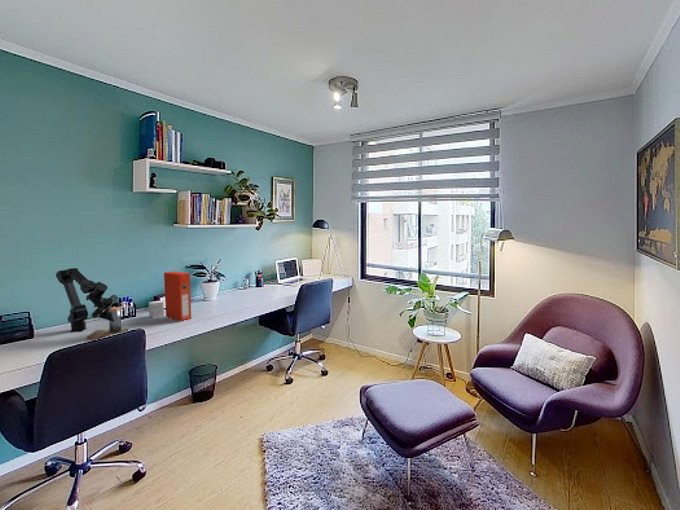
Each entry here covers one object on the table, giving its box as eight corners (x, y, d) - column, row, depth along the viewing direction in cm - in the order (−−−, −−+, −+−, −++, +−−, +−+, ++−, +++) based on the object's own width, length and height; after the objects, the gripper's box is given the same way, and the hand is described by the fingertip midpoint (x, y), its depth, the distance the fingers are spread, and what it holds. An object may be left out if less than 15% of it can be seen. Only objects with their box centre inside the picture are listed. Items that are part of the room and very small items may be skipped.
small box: (160, 314, 260) (160, 300, 259) (164, 316, 256) (163, 301, 255) (148, 317, 253) (148, 302, 252) (152, 318, 250) (151, 303, 249)
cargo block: (109, 311, 210) (109, 309, 210) (112, 309, 214) (112, 307, 214) (116, 311, 211) (116, 308, 210) (120, 309, 215) (119, 307, 214)
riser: (87, 339, 206) (86, 336, 205) (95, 333, 216) (95, 330, 216) (122, 337, 210) (121, 334, 209) (128, 331, 220) (128, 328, 220)
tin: (107, 332, 210) (106, 312, 209) (112, 329, 216) (111, 309, 215) (119, 331, 211) (118, 311, 210) (123, 328, 217) (122, 309, 216)
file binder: (180, 321, 242) (179, 274, 239) (165, 317, 252) (163, 272, 248) (191, 319, 249) (189, 273, 246) (176, 315, 258) (174, 271, 255)
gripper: (95, 294, 202) (115, 314, 203) (117, 288, 221) (136, 306, 221) (83, 308, 203) (102, 327, 204) (105, 300, 222) (124, 318, 222)
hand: (117, 319), depth 213 cm, fingers closed on tin, 6 cm apart
